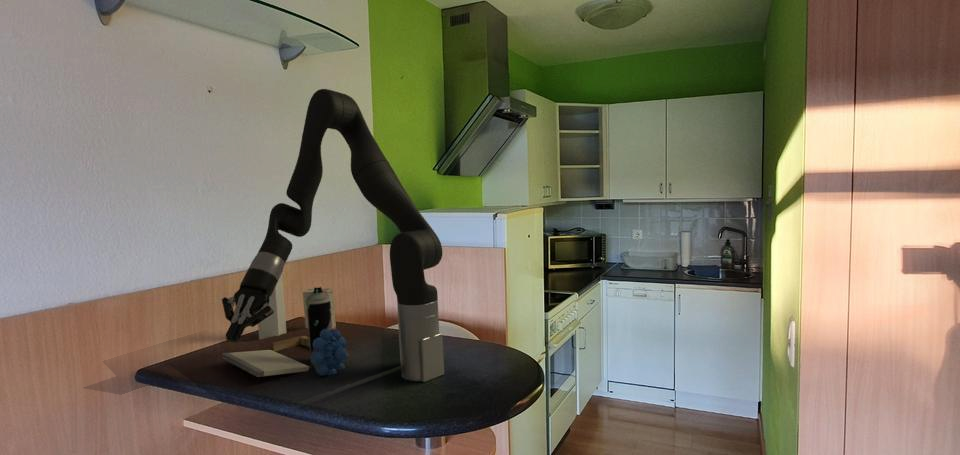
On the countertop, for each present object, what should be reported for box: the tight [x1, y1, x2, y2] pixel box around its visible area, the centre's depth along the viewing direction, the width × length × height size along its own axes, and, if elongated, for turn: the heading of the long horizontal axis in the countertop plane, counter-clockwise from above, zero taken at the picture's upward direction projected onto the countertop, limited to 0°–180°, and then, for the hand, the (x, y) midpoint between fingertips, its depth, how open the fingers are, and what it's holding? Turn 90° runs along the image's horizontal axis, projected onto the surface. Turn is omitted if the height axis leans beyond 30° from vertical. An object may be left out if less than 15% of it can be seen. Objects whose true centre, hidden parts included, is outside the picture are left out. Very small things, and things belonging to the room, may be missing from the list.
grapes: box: [310, 328, 350, 376], centre depth 113 cm, size 12×7×12 cm, turn 158°
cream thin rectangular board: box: [221, 349, 310, 378], centre depth 119 cm, size 21×1×13 cm
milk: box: [257, 274, 287, 340], centre depth 149 cm, size 6×6×22 cm
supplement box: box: [302, 287, 337, 329], centre depth 155 cm, size 8×5×13 cm, turn 84°
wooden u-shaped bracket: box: [271, 335, 351, 370], centre depth 127 cm, size 24×9×4 cm, turn 47°
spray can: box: [307, 286, 332, 366], centre depth 121 cm, size 6×6×20 cm
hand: (230, 340), depth 113 cm, fingers closed
